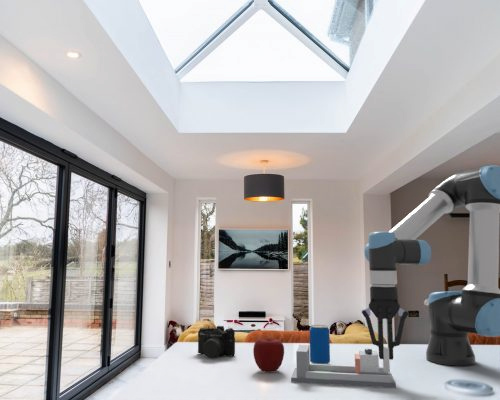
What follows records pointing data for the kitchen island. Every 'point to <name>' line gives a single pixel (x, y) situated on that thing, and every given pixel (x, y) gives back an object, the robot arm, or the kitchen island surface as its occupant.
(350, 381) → the base
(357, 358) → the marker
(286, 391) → the kitchen island surface
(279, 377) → the kitchen island surface
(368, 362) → the white cube with knob
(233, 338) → the camera
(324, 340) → the beverage can
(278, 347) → the apple
